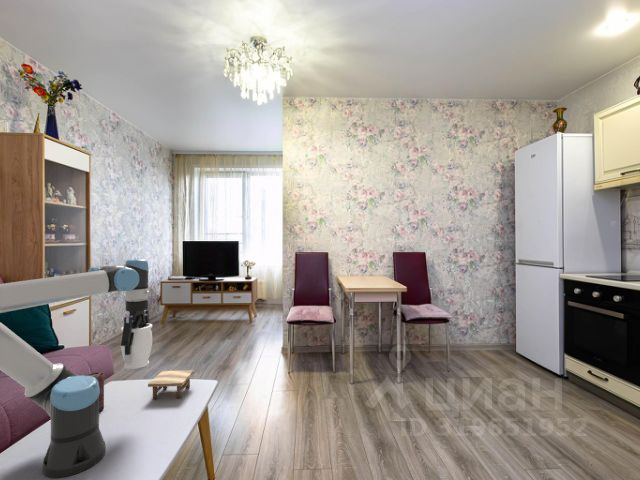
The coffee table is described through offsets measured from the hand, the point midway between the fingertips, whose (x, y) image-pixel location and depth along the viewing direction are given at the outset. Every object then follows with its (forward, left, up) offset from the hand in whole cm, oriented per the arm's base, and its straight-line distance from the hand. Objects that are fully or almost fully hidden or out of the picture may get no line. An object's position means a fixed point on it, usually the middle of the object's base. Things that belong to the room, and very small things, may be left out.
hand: (136, 357), depth 124 cm
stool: (+18, -6, -22) cm, 29 cm away
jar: (0, 0, -3) cm, 3 cm away
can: (+4, +18, -22) cm, 29 cm away
